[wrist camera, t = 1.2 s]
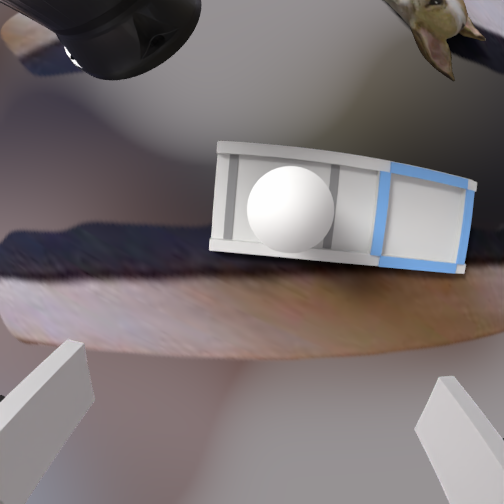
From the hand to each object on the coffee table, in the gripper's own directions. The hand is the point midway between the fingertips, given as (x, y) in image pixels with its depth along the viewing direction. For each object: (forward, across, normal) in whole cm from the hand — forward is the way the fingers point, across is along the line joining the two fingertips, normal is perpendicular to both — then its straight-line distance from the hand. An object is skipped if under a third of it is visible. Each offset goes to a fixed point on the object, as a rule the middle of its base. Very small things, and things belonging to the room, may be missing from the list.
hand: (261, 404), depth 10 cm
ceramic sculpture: (+21, +14, +28) cm, 38 cm away
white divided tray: (+20, +8, +6) cm, 22 cm away
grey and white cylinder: (+20, +1, +6) cm, 20 cm away
